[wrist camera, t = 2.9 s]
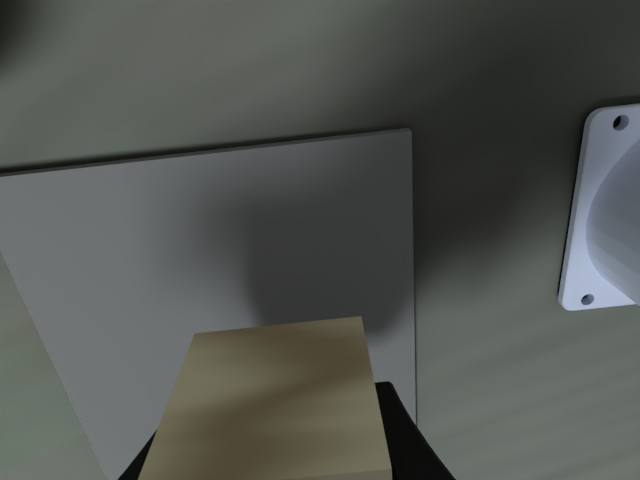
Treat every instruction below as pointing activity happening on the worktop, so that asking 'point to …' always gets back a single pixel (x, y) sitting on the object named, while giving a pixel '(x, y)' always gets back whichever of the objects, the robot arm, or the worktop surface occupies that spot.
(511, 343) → the worktop surface
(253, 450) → the birch block
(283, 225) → the play mat
